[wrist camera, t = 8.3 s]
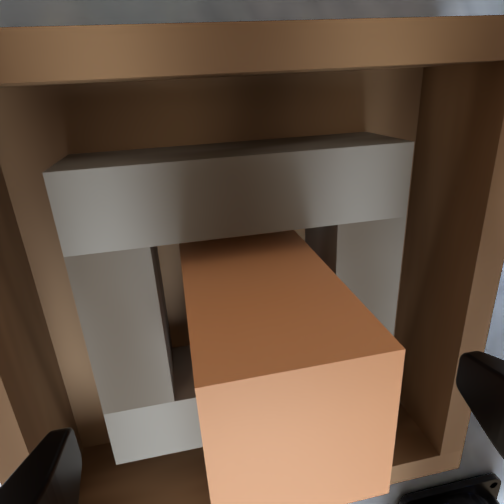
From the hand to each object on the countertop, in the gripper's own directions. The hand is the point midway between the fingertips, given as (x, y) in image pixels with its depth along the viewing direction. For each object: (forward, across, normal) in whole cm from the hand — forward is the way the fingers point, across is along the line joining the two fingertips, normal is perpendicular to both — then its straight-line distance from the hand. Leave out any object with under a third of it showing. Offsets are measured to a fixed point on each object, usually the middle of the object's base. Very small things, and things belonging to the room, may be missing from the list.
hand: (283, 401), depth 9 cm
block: (+7, 0, 0) cm, 7 cm away
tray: (+7, 0, 0) cm, 7 cm away
